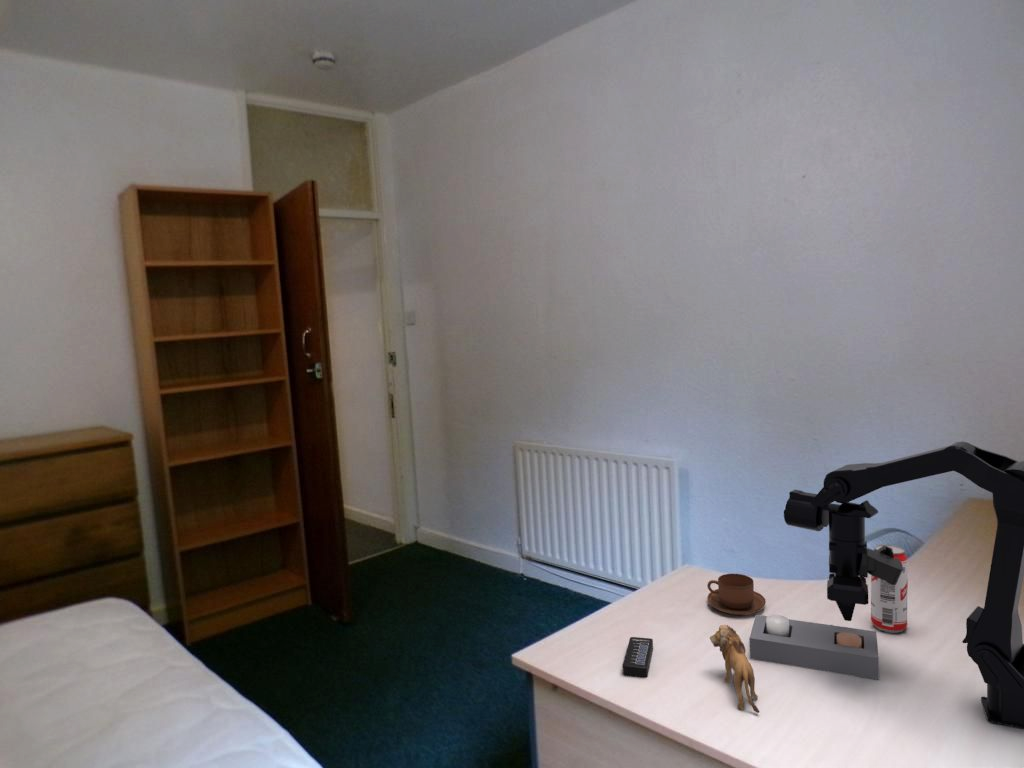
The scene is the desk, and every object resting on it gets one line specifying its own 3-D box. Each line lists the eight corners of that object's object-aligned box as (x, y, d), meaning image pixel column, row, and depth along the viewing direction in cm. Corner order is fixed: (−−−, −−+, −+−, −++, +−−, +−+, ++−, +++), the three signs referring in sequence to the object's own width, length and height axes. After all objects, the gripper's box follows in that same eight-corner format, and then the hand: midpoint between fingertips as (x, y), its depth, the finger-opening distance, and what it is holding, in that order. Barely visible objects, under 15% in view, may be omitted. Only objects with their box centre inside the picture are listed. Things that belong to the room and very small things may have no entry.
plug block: (878, 680, 113) (878, 658, 112) (750, 658, 122) (749, 637, 122) (876, 651, 122) (876, 631, 121) (756, 633, 131) (755, 614, 131)
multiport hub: (622, 677, 119) (622, 665, 119) (630, 647, 130) (630, 636, 130) (647, 680, 118) (646, 667, 118) (653, 649, 128) (652, 638, 128)
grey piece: (788, 643, 122) (788, 625, 121) (765, 640, 123) (765, 622, 123) (790, 633, 125) (789, 616, 125) (767, 630, 127) (767, 613, 127)
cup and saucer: (709, 618, 139) (708, 590, 138) (706, 594, 151) (705, 568, 150) (769, 621, 136) (768, 592, 136) (762, 596, 148) (761, 570, 147)
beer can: (870, 630, 129) (870, 551, 128) (871, 617, 134) (871, 541, 133) (907, 637, 126) (908, 556, 124) (906, 623, 131) (908, 545, 130)
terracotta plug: (861, 663, 116) (861, 644, 116) (836, 659, 118) (836, 640, 118) (861, 652, 120) (861, 634, 120) (837, 648, 122) (836, 630, 121)
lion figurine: (708, 669, 120) (706, 622, 119) (736, 666, 120) (734, 619, 119) (743, 718, 105) (742, 664, 104) (775, 714, 105) (774, 661, 104)
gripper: (903, 560, 105) (903, 652, 107) (895, 524, 121) (895, 604, 123) (826, 552, 110) (827, 641, 112) (828, 519, 126) (830, 596, 128)
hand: (847, 619), depth 118 cm, fingers closed
